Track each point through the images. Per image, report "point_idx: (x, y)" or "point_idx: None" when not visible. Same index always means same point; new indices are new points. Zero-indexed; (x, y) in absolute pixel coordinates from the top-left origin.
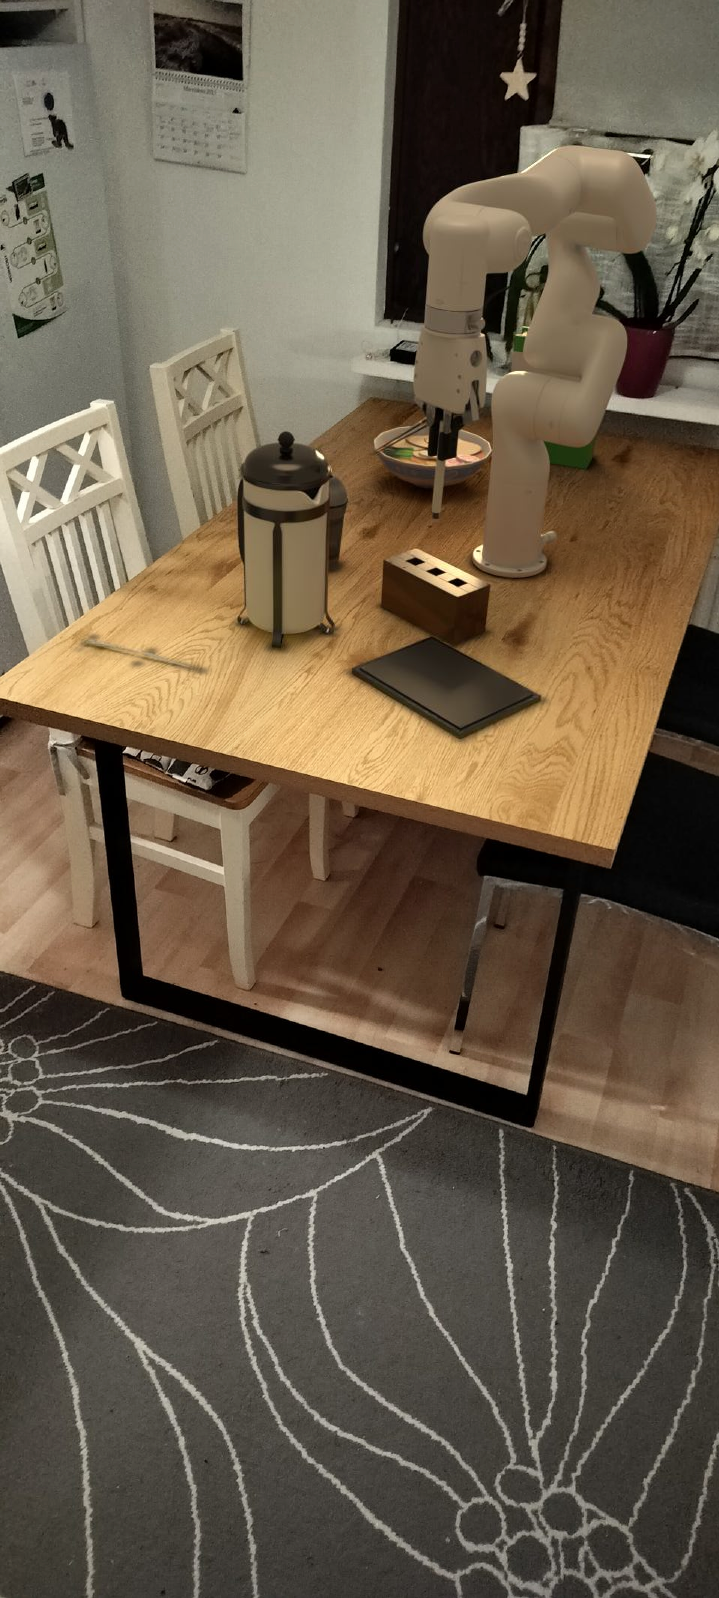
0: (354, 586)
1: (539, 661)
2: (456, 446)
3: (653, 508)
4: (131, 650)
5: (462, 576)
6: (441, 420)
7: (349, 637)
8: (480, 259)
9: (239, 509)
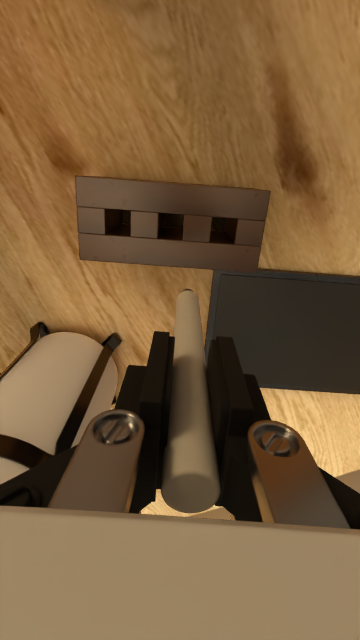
0: (29, 225)
1: (356, 198)
2: (259, 390)
3: None
4: None
5: (215, 205)
6: (163, 493)
7: (140, 330)
8: None
9: None
